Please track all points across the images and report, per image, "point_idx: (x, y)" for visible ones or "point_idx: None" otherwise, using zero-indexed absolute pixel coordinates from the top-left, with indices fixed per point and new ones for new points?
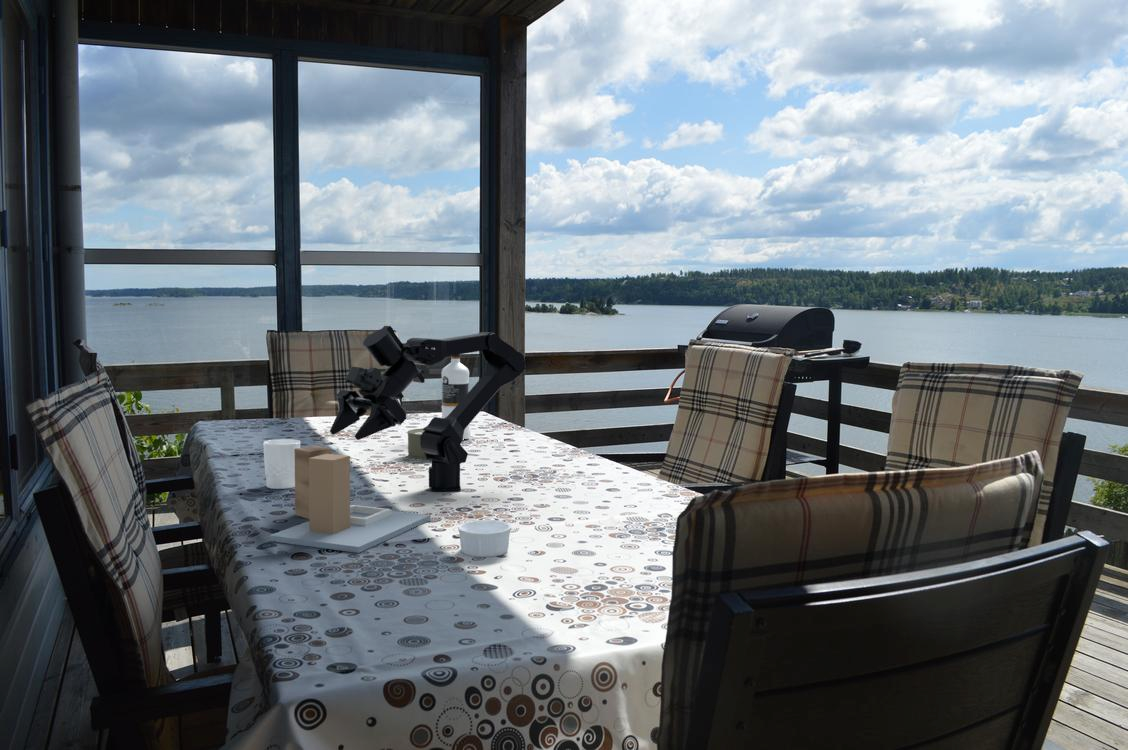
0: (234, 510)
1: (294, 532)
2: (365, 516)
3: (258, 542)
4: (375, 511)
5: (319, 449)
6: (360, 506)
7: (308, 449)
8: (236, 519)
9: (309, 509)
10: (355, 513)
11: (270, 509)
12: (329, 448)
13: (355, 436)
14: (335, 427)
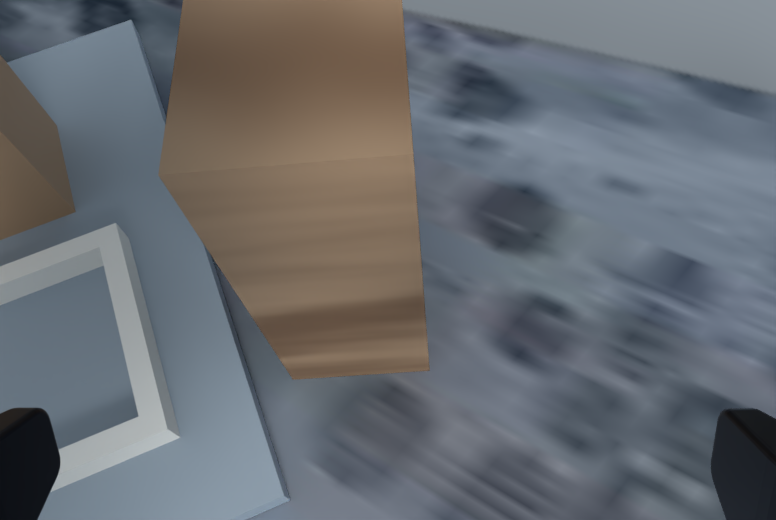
0: (680, 104)
1: (89, 84)
2: None
3: (156, 10)
4: None
5: (208, 85)
6: (99, 439)
7: (277, 27)
8: (510, 60)
9: (5, 62)
10: (123, 416)
11: (605, 217)
12: (182, 164)
13: (20, 407)
14: (764, 490)
